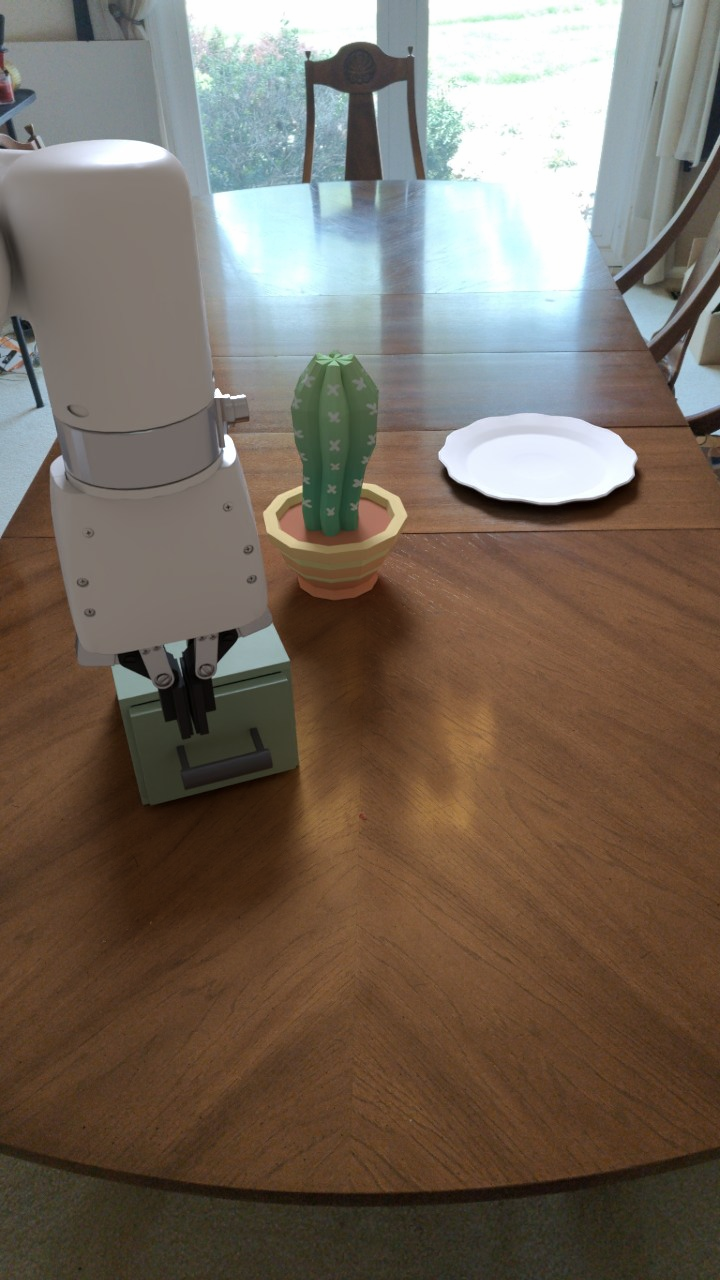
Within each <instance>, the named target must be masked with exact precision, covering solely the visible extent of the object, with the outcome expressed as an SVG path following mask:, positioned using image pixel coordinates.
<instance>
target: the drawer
mask: <svg viewBox="0 0 720 1280" xmlns="http://www.w3.org/2000/svg"><path fill="white" fill-rule="evenodd" d="M213 690H214V697H215V703H216V711H211V712H207V713H206V716H207V722H208V728H209V734H205V735H201V736H200V734H196V731H195V728H194V724H193V721H192V726H193V732H194V735H191V738H189V739H185V740H182V738H181V734H180V731H179V727H178V724H177V720H174V721H169V722H165V719H164V716H163V712H162V708H161V703H160V701H156V702H152V703H148V702H145V703H141V704H137V705H136V706H134V707H130V708H129V713H130V718H131V722H132V727H133V731H134V736H135V740H136V744H137V749H138V753H139V758H140V762H141V767H142V771H143V776H144V780H145V784H146V789H147V793H148V798H149V802H150V803H149V806H154V805H158V804H163V803H166V802H170V801H174V800H177V799H183V798H185V797H189V796H194V795H198V794H202V793H205V792H210V791H213V790H217V789H221V788H225V787H228V786H233V785H236V784H237V785H238V784H240V783H244V782H248V781H252V780H255V779H259V778H264V777H267V776H271V775H275V774H280V773H283V772H287V771H291V770H295V769H296V767H297V766H295V755H294V744H293V733H292V722H291V711H290V699H289V688H288V680H287V678H286V675H285V673H284V672H281V673H277V674H273V675H272V674H266V675H262V676H258V677H253V678H249V679H245V680H240V681H236V682H232V683H227V684H223V685H219V686H215V688H213ZM191 720H192V718H191Z"/></svg>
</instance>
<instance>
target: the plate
mask: <svg viewBox="0 0 720 1280" xmlns="http://www.w3.org/2000/svg"><path fill="white" fill-rule="evenodd" d="M638 459H639V458H638V455H637V452H636V451H635V450H634V449H632V448H631V447H630V446H628V445H627V444H626V443H625V442H624V441H623V439H622V437H621V436H620V435H619V434H617V433H615V432H614V431H612V430H611V429H608V428H604V427H601V426H597V425H594V424H592V423H590V422H587V421H586V420H583V419H581V418H576V417H571V416H564V415H549V414H543V413H537V412H519V413H514V414H509V415H501V416H500V415H499V416H488V417H484V418H481V419H476V420H475V421H474V422H472V423H471V424H469V425H467V426H465V427H461V428H459V429H456V430H454V431H452V432H451V433H450V434H448V435H447V436H446V438H445V443H444V446H442V447H441V449H440V450H439V451H438V461H439V463H441V464H442V465H443V466H444V468H445V469H446V471H447V474H448V477H449V478H450V479H451V480H452V481H453V482H455V483H456V484H457V485H459V486H462V487H465V488H468V489H470V490H474V491H476V492H477V493H479V494H481V495H483V497H485V498H487V499H490V500H491V499H492V500H495V501H499V502H506V503H521V504H525V505H532V506H537V507H558V506H563V505H567V504H568V505H569V504H572V503H585V502H594V501H597V500H600V499H603V498H607V497H608V496H609V495H610V494H611V493H613V492H614V491H615V490H617V489H620V488H621V487H623V486H626V485H628V484H630V483H631V482H632V481H633V479H634V478H635V476H636V475H635V466H636V464H637V463H638Z"/></svg>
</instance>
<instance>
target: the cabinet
mask: <svg viewBox="0 0 720 1280" xmlns="http://www.w3.org/2000/svg"><path fill="white" fill-rule="evenodd" d="M164 645H165V648H166V651H167V652H169V653H171V654H173V656H174V659H175V658H177V661H178V664H179V667H180V671H181V665H180V659H179V658H180V657H182V652H183V651H185V649H186V648H187V646H186V640H183V641H178V642H173V643H169V644H164ZM110 669H111V675H112V678H113V683H114V687H115V691H116V692H115V693H116V696H117V701H118V705H119V709H120V714H121V718H122V723H123V727H124V731H125V736H126V740H127V744H128V748H129V753H130V756H131V761H132V765H133V769H134V775H135V778H136V783H137V787H138V791H139V795H140V796H139V797H140V800H141V805H143V806H145V805H150V802H149V798H148V793H147V789H146V784H145V780H144V776H143V771H142V767H141V762H140V758H139V753H138V749H137V744H136V740H135V736H134V731H133V727H132V722H131V718H130V713H129V708H130V707H134V706H136V705H137V704H141V703H145V702H150V701H154V700H158V699H160V698H159V693H158V688H156V687H155V686H154V685H153V683H152V680H150V679H148V678H146V677H144V676H142V675H139V674H137V673H135V672H133V671H131V670H129V669H127V668H125V667H123V666H121V665H114V666H110ZM281 672H284V673H285V675H286V678H287V680H288V688H289V699H290V711H291V722H292V733H293V744H294V755H295V766H296V767H297V766H300V759H299V747H298V736H297V735H298V734H297V724H296V723H297V722H296V712H295V700H294V689H293V679H292V678H293V677H292V676H293V675H292V667H291V659H290V658H289V656H288V653H287V651H286V649H285V646H284V644H283V642H282V640H281V638H280V636H279V633H278V631H277V629H276V627H275V625H274V622H272V624H271V625H270V626H268V627H267V628H265V629H262V630H260V631H258V632H255V633H253V634H251V635H248V636H246V637H244V638H243V637H240V638H238V640H237V641H236V643H235V644H234V645H233V646H232V647H231V648H230V650H229V651H228V652H227V653H226V654H225V655H224V656H223V658H222V659H221V660H220V661H219V662H218V663H217V671H216V674H215V675H214V676H213V677H212V684H213V687H214V686H219V685H223V684H227V683H232V682H236V681H240V680H245V679H249V678H253V677H258V676H262V675H266V674H272V675H273V674H277V673H281ZM181 674H182V671H181ZM182 677H183V676H182Z"/></svg>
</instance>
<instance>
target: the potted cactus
mask: <svg viewBox="0 0 720 1280" xmlns="http://www.w3.org/2000/svg"><path fill="white" fill-rule="evenodd" d="M293 392H294V396H293V400H292V402H291V405H290V413H291V421H292V431H293V438H294V444H295V447H296V449H297V452H298V455H299V458H300V461H301V465H302V485H299V486H297V487H294V488H292V489H289V490H287V491H285V492H282V493H280V494H278V495H276V497H275V498H274V499H273V500H272V501H271V503H270V504H269V505H268V506H267V508H266V509H265V510H264V511H263V512H262V516H263V521H264V524H265V530H266V533H267V536H268V539H269V542H270V545H272V546H274V547H275V548H276V549H278V550H279V553H280V554H281V555H282V558H283V559H284V562H285V564H286V566H288V568H290V570H291V571H293V572H294V573H295V574H296V576H297V580H298V583H299V588H300V589H301V590H303V591H304V592H306V593H308V594H309V595H310V596H312V597H314V598H319V599H325V600H330V601H339V600H345V599H346V600H347V599H355V598H357V597H359V596H361V595H363V594H365V593H367V592H369V591H371V590H372V589H373V588H374V586H375V584H376V583H377V581H378V579H379V575H378V571H379V570H380V569H381V568H382V567H383V565H384V564H385V562H386V560H387V558H388V556H389V555H390V553H391V551H392V548H393V547H395V545H396V543H397V542H398V539H400V536H401V535H402V533H403V531H404V530H405V527H406V524H407V520H408V517H409V515H408V513H407V510H406V508H405V507H404V504H403V502H402V500H401V498H400V497H399V496H398V495H395V494H394V493H392V492H391V491H388V490H386V489H384V488H383V487H381V486H380V485H377V484H375V483H366V482H364V479H365V474H366V469H367V466H368V464H369V461H370V459H371V456H372V454H373V452H374V450H375V447H376V445H377V434H378V414H379V397H380V395H379V393H380V390H379V388H378V386H377V385H376V383H375V382H374V380H373V379H372V377H371V376H370V375H369V373H368V372H367V370H366V369H365V368H364V367H363V364H362V363H361V362H360V361H359V359H358V358H357V357H356V355H355V354H354V353H349V354H346V355H343V354H342V353H341V352H340V351H339V350H338V349H333V350H331V351H330V352H329V354H328V355H325V354H323V353H321V352H316V353H315V354H314V355H313V357H312V358H311V360H310V361H309V362H308V364H307V366H306V367H305V368H304V370H303V371H302V372H301V374H300V375H299V377H298V380H297V382H296V385H295V388H294V391H293Z"/></svg>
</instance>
